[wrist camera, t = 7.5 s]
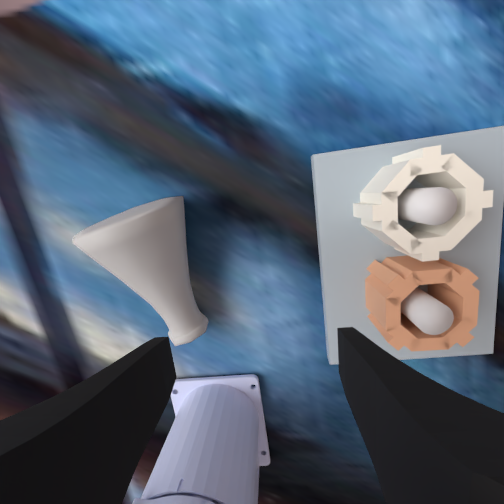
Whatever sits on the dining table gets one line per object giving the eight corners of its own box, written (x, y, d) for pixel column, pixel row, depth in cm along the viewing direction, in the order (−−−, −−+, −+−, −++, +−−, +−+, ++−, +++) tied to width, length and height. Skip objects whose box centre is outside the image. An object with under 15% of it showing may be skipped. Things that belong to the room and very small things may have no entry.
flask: (183, 196, 14) (243, 337, 17) (180, 188, 20) (223, 291, 24) (43, 248, 13) (139, 387, 16) (88, 222, 19) (149, 324, 23)
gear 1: (458, 196, 17) (504, 197, 14) (400, 256, 18) (430, 270, 15) (399, 146, 17) (432, 134, 13) (344, 210, 18) (361, 214, 14)
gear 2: (438, 320, 19) (475, 347, 16) (366, 325, 19) (386, 352, 16) (441, 252, 18) (481, 265, 14) (364, 259, 18) (385, 274, 15)
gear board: (482, 345, 20) (549, 393, 15) (327, 356, 21) (343, 404, 16) (495, 129, 17) (585, 102, 12) (311, 156, 18) (325, 142, 13)
